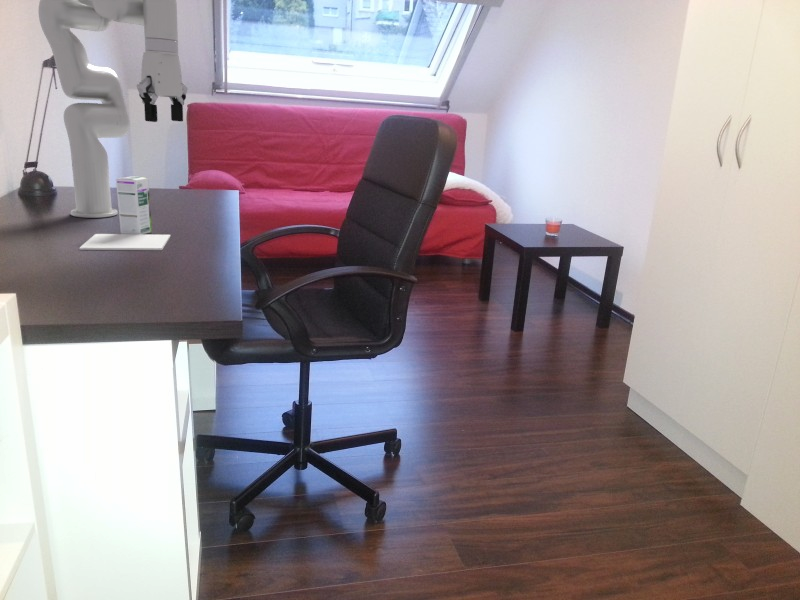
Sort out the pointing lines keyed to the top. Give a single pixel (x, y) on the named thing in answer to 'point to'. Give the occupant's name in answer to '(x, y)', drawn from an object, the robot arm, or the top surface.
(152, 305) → the top surface
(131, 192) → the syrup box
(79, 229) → the top surface
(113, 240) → the mat
